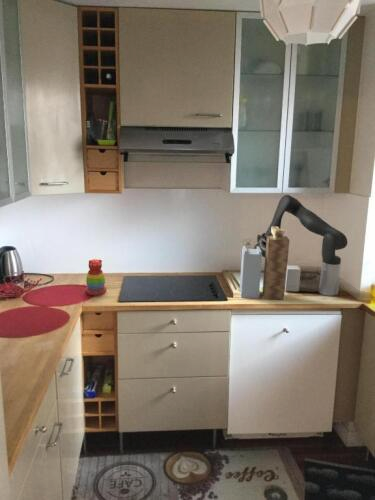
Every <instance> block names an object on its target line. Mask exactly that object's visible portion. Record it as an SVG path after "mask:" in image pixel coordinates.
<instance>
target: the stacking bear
mask: <svg viewBox="0 0 375 500" xmlns="http://www.w3.org/2000/svg"><path fill="white" fill-rule="evenodd" d="M102 261H103V260H101V259H98V258H95V259H89V261H88V269H89V270H88V271H87V274H86V278H85V279H86V281H85V282H86V287H85V289H84V290H85V292H86V294H87V295H89V296H99V295H103V294H105V293H106V292H107V287H106V286H105V284H106V278H105V274H104V271H103V270H102V267H103V264H102V263H103V262H102Z"/></svg>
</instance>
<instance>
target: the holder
mask: <svg viewBox="0 0 375 500" xmlns="http://www.w3.org/2000/svg"><path fill="white" fill-rule="evenodd" d="M262 260H263V256H262V251H261V249H260V247H259V246H257V249H254V248H247V247H246V246H245V245H242V248H241V261H240V262H241V264H240V275H239V276H240V277H239V293H240V292H241V294H240V297H241V298H243V299H244V298H245V299H259V298H260V287H261V286H260V285H261V275H262V274H261V273H262V263H263V262H262Z"/></svg>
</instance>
